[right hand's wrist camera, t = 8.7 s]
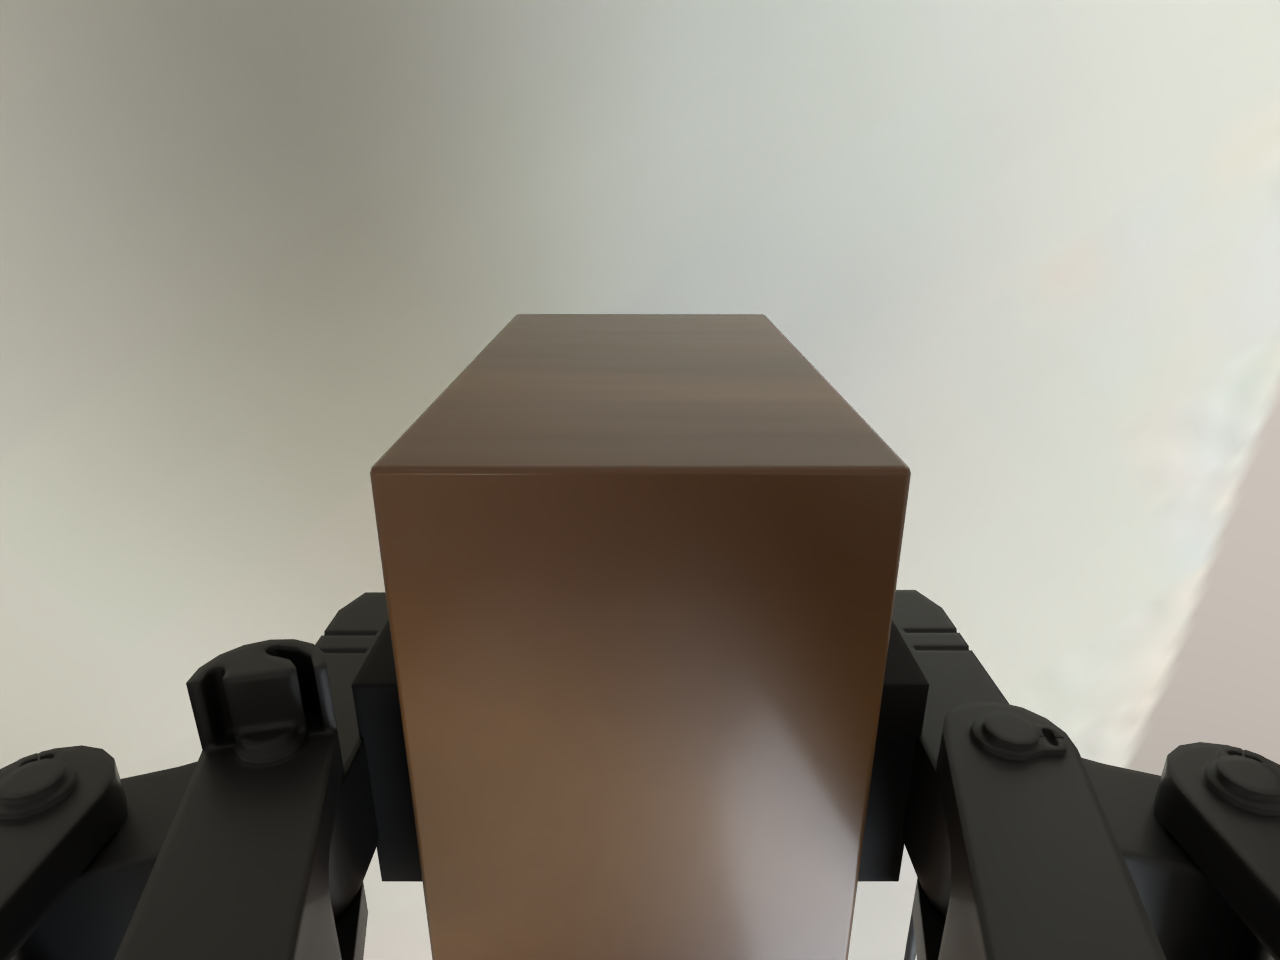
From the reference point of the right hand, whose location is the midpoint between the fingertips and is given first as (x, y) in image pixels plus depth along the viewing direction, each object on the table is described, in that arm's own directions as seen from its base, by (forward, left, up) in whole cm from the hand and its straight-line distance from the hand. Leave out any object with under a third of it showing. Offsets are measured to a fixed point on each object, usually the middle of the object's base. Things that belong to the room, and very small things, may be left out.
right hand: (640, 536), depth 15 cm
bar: (+8, +5, -1) cm, 10 cm away
